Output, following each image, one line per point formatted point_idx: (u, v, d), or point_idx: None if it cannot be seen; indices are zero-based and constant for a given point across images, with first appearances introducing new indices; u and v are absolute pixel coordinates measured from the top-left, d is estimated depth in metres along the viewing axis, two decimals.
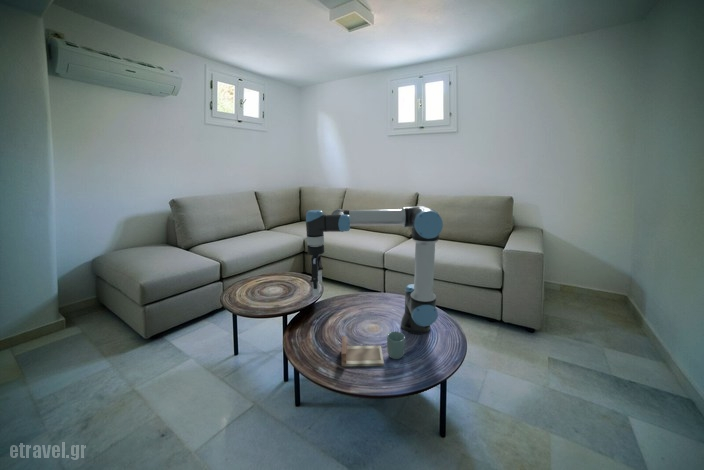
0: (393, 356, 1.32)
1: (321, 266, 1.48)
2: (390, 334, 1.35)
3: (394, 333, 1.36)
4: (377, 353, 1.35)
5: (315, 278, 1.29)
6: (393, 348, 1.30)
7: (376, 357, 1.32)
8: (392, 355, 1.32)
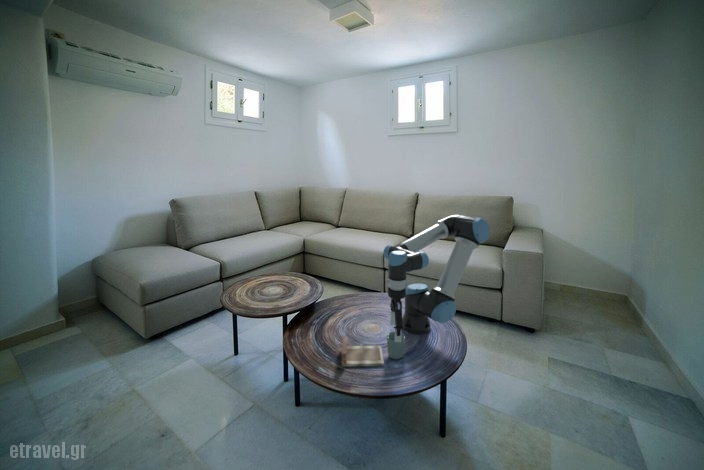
0: (393, 356, 1.32)
1: None
2: (390, 334, 1.35)
3: (394, 333, 1.36)
4: (377, 353, 1.35)
5: (400, 325, 1.21)
6: (393, 348, 1.30)
7: (376, 357, 1.32)
8: (392, 355, 1.32)
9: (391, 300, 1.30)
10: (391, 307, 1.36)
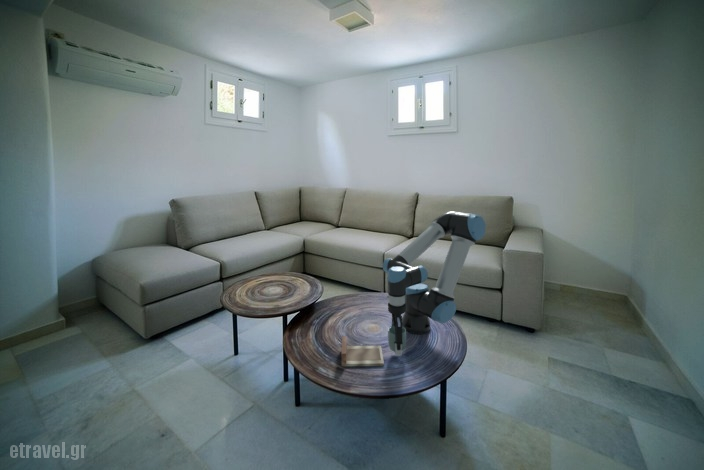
0: (394, 349, 1.31)
1: None
2: (391, 328, 1.35)
3: None
4: (377, 353, 1.35)
5: (400, 341, 1.25)
6: None
7: (376, 357, 1.32)
8: (393, 348, 1.31)
9: None
10: (392, 325, 1.37)
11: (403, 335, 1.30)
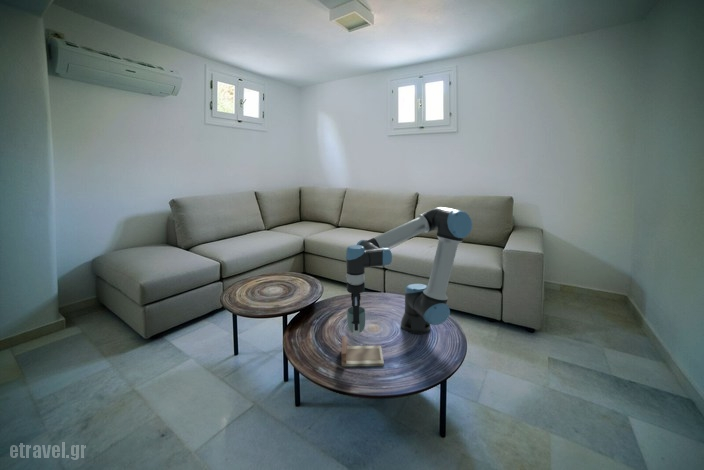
0: None
1: None
2: (351, 308, 1.32)
3: None
4: (377, 353, 1.35)
5: (357, 321, 1.23)
6: None
7: (376, 357, 1.32)
8: (352, 329, 1.29)
9: (351, 295, 1.30)
10: None
11: (361, 315, 1.27)
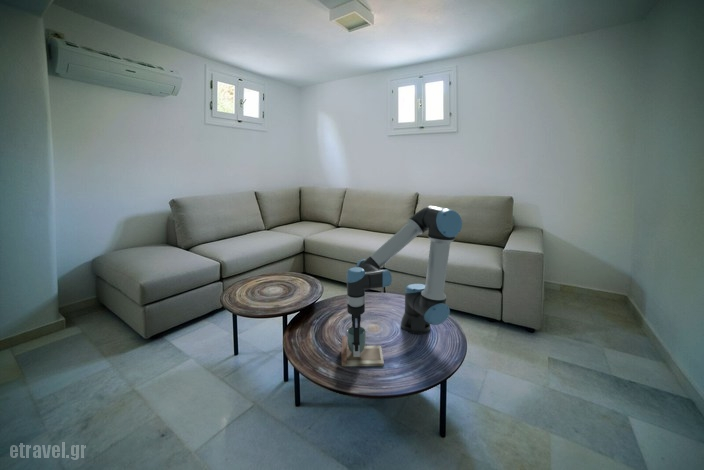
0: None
1: None
2: (351, 328, 1.35)
3: None
4: (377, 353, 1.35)
5: (357, 342, 1.25)
6: None
7: (376, 357, 1.32)
8: (352, 349, 1.31)
9: None
10: None
11: (361, 336, 1.30)
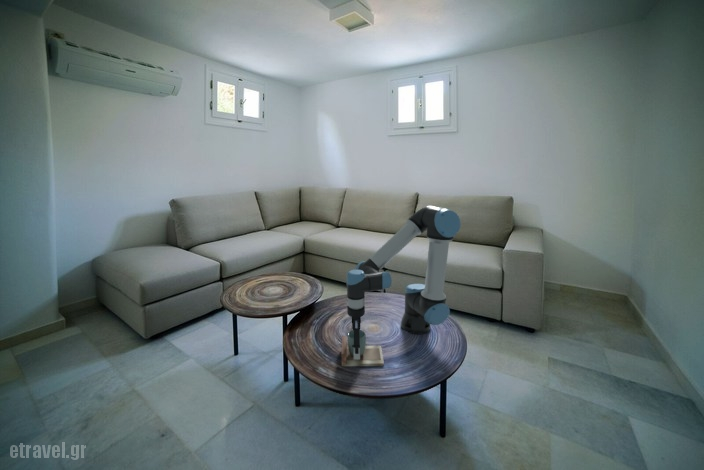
0: (353, 354, 1.31)
1: None
2: (351, 332, 1.35)
3: None
4: (377, 353, 1.35)
5: (358, 344, 1.23)
6: None
7: (376, 357, 1.32)
8: (352, 353, 1.31)
9: None
10: None
11: (362, 339, 1.30)
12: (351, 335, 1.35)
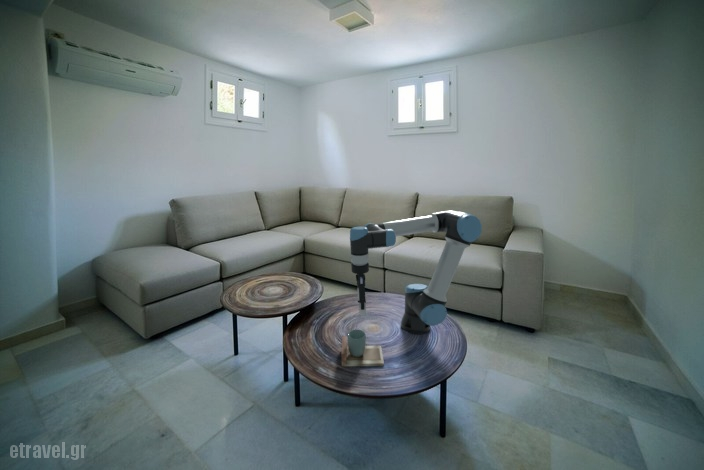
0: (353, 354, 1.31)
1: None
2: (351, 332, 1.35)
3: (356, 331, 1.36)
4: (377, 353, 1.35)
5: (363, 299, 1.23)
6: (353, 346, 1.30)
7: (376, 357, 1.32)
8: (352, 353, 1.31)
9: None
10: (357, 283, 1.38)
11: (362, 339, 1.30)
12: (351, 335, 1.35)
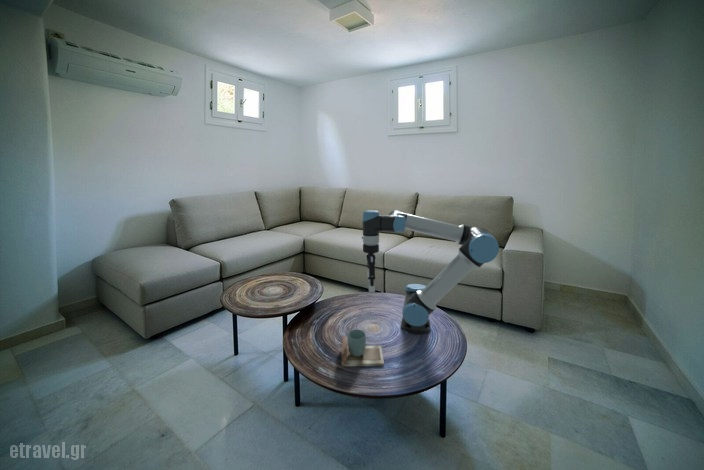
0: (353, 354, 1.31)
1: None
2: (351, 332, 1.35)
3: (356, 331, 1.36)
4: (377, 353, 1.35)
5: (373, 275, 1.34)
6: (353, 346, 1.30)
7: (376, 357, 1.32)
8: (352, 353, 1.31)
9: None
10: None
11: (362, 339, 1.30)
12: (351, 335, 1.35)
